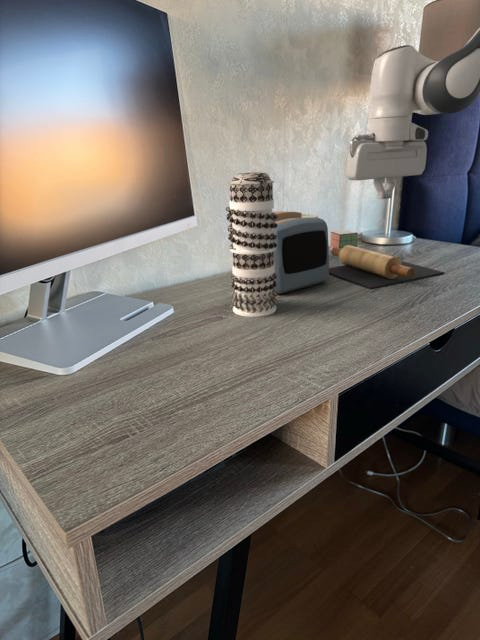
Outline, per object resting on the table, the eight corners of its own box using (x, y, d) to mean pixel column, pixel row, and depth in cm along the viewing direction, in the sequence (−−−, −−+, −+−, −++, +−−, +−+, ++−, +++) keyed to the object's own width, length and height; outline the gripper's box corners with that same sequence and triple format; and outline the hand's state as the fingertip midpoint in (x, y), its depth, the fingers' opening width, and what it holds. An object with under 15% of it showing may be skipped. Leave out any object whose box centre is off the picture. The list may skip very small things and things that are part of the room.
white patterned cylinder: (222, 307, 87) (214, 174, 78) (261, 298, 91) (259, 171, 82) (245, 321, 80) (240, 175, 71) (287, 311, 84) (288, 172, 75)
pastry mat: (388, 259, 119) (388, 257, 118) (444, 273, 103) (444, 272, 103) (320, 271, 110) (320, 269, 110) (370, 289, 95) (370, 287, 95)
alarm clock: (277, 298, 92) (277, 219, 86) (232, 281, 104) (229, 212, 98) (332, 282, 100) (335, 210, 95) (285, 269, 113) (284, 205, 107)
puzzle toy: (357, 252, 127) (358, 232, 125) (339, 254, 126) (340, 234, 124) (346, 248, 132) (347, 229, 130) (329, 250, 131) (330, 231, 129)
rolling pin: (342, 259, 118) (342, 240, 116) (418, 282, 96) (420, 259, 94) (326, 262, 116) (327, 243, 114) (400, 286, 94) (402, 263, 92)
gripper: (360, 133, 90) (357, 204, 95) (434, 131, 98) (427, 195, 103) (341, 135, 95) (338, 201, 100) (412, 132, 103) (406, 194, 108)
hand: (384, 198), depth 102 cm, fingers closed
